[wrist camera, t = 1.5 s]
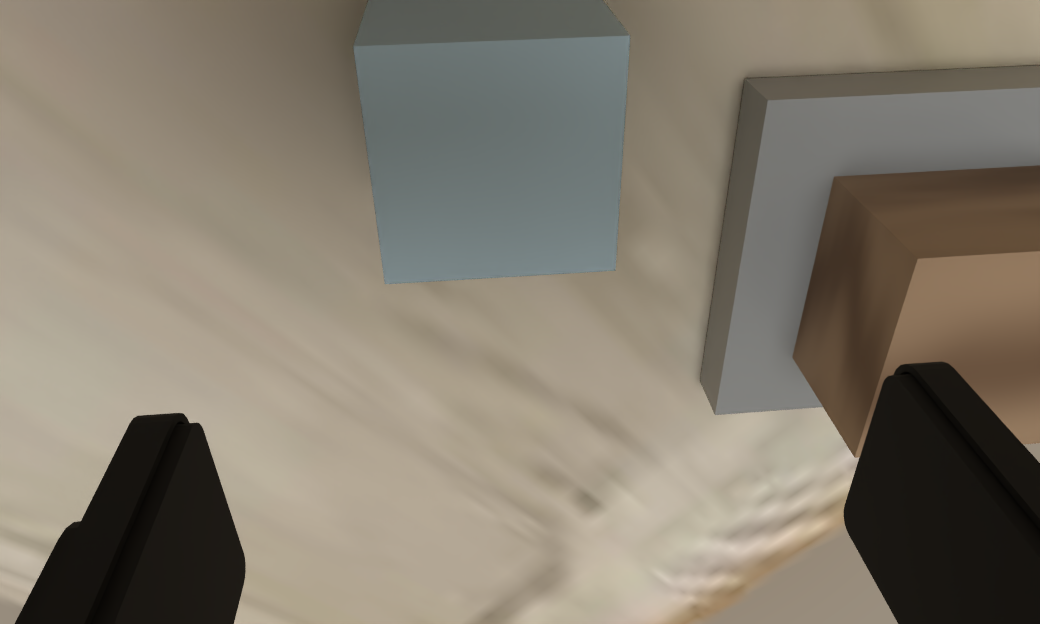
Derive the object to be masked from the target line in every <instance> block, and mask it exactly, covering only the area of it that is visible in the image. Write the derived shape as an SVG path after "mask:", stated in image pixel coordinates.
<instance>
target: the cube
mask: <svg viewBox="0 0 1040 624" xmlns="http://www.w3.org/2000/svg"><path fill="white" fill-rule="evenodd" d="M353 48H354V56H355V63H356V71H357V78H358V86H359V93H360V101H361V108H362V116H363V123H364V131H365V138H366V146H367V153H368V161H369V168H370V176H371V183H372V191H373V198H374V206H375V213H376V221H377V228H378V236H379V243H380V251H381V258H382V266H383V273H384V281H385V284H398V283H414V282H431V281H448V280H465V279H482V278H499V277H516V276H533V275H550V274H567V273H583V272H600V271H615V267H616V252H617V236H618V220H619V204H620V189H621V173H622V157H623V142H624V126H625V110H626V95H627V79H628V63H629V48H630V35H629V33H628V32H627V31H626V29H625V28H624V27H623V26H622V24H621V23H620V22H619V21H618V19H617V18H616V17H615V15H614V14H613V13H612V12H611V10H610V9H609V8H608V6H607V5H606V4H605V3H604V1H603V0H368V3H367V6H366V9H365V12H364V15H363V18H362V21H361V24H360V27H359V30H358V33H357V36H356V39H355V43H354V46H353Z"/></svg>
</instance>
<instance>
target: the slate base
mask: <svg viewBox="0 0 1040 624" xmlns="http://www.w3.org/2000/svg"><path fill="white" fill-rule="evenodd" d="M1037 165H1040V65H1033V66H1011V67H989V68H967V69H945V70H923V71H901V72H879V73H857V74H836V75H814V76H792V77H770V78H748V79H745V81H744V88H743V95H742V101H741V108H740V115H739V121H738V128H737V135H736V142H735V148H734V155H733V162H732V169H731V175H730V182H729V189H728V196H727V202H726V209H725V216H724V222H723V229H722V236H721V243H720V249H719V256H718V263H717V270H716V276H715V283H714V290H713V296H712V303H711V310H710V317H709V323H708V330H707V337H706V344H705V350H704V357H703V364H702V371H701V377H700V382H701V385H702V387H703V389H704V391H705V394H706V396H707V398H708V400H709V403H710V405H711V407H712V409H713V412H714V414H715V415H722V414H735V413H749V412H762V411H776V410H789V409H802V408H816V407H823V406H822V404H821V403H820V401H819V400H818V398H817V396H816V395H815V393H814V391H813V390H812V388H811V387H810V385H809V383H808V382H807V380H806V379H805V377H804V375H803V374H802V372H801V371H800V369H799V367H798V366H797V364H796V363H795V361H794V359H793V358H792V356H793V352H794V348H795V343H796V339H797V335H798V330H799V326H800V322H801V317H802V313H803V309H804V304H805V300H806V296H807V291H808V287H809V283H810V278H811V274H812V270H813V265H814V261H815V257H816V252H817V248H818V244H819V239H820V235H821V231H822V226H823V222H824V218H825V213H826V209H827V205H828V200H829V196H830V192H831V187H832V183H833V179H834V177H835V176H854V175H872V174H890V173H909V172H927V171H945V170H964V169H982V168H1001V167H1019V166H1037Z"/></svg>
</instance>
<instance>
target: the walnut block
mask: <svg viewBox="0 0 1040 624" xmlns="http://www.w3.org/2000/svg"><path fill="white" fill-rule="evenodd" d="M792 358H793V359H794V361H795V363H796V364H797V366H798V367H799V369H800V371H801V372H802V374H803V375H804V377H805V379H806V380H807V382H808V383H809V385H810V387H811V388H812V390H813V391H814V393H815V395H816V396H817V398H818V400H819V401H820V403H821V404H822V406H823V408H824V409H825V411H826V412H827V414H828V416H829V417H830V419H831V420H832V422H833V424H834V425H835V427H836V428H837V430H838V432H839V433H840V435H841V436H842V438H843V440H844V441H845V443H846V444H847V446H848V448H849V449H850V451H851V452H852V454H853V456H854V457H860V455H861V452H862V448H863V445H864V442H865V439H866V436H867V432H868V429H869V426H870V423H871V420H872V416H873V413H874V410H875V407H876V404H877V400H878V397H879V394H880V391H881V387H882V384H883V382H884V380H885V378H887V377H888V376H891V375H894V372H895V370H896V369H897V368H898V367H899V366H900V365H903V364H912V363H927V362H941V361H942V362H946V363H948V364H950V365H951V366H952V367H953V368H954V369H955V370H956V371H957V372H958V373H959V374H960V375H961V376H962V378H963V379H964V380H965V381H966V382H967V383H968V384H969V385H970V386H971V388H972V389H973V390H974V391H975V392H976V393H977V394H978V395H979V396H980V398H981V399H982V400H983V401H984V402H985V403H986V404H987V405H988V406H989V408H990V409H991V410H992V411H993V412H994V413H995V414H996V415H997V416H998V417H999V419H1000V420H1001V421H1002V422H1003V423H1004V424H1005V425H1006V426H1007V427H1008V429H1009V430H1010V431H1011V432H1012V433H1013V434H1014V435H1015V436H1016V437H1017V439H1018V440H1019V441H1020V442H1021V443H1022V444H1031V443H1040V165H1037V166H1019V167H1001V168H982V169H964V170H945V171H927V172H909V173H890V174H872V175H854V176H835V177H834V179H833V183H832V187H831V192H830V196H829V200H828V205H827V209H826V213H825V218H824V222H823V226H822V231H821V235H820V239H819V244H818V248H817V252H816V257H815V261H814V265H813V270H812V274H811V278H810V283H809V287H808V291H807V296H806V300H805V304H804V309H803V313H802V317H801V322H800V326H799V330H798V335H797V339H796V343H795V348H794V352H793V356H792Z"/></svg>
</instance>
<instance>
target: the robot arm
mask: <svg viewBox="0 0 1040 624" xmlns="http://www.w3.org/2000/svg"><path fill="white" fill-rule="evenodd" d="M844 521H845V526H846V529H847V531H848V534H849V536H850V537H851V539H852V541H853V543H854V544H855V546H856V548H857V550H858V552H859V553H860V555H861V557H862V559H863V561H864V563H865V564H866V566H867V568H868V570H869V571H870V573H871V575H872V577H873V579H874V581H875V582H876V584H877V586H878V588H879V590H880V591H881V593H882V595H883V597H884V598H885V600H886V602H887V604H888V606H889V608H890V609H891V611H892V613H893V615H894V617H895V618H896V620H897V622H898V624H1040V463H1039V462H1038V461H1037V460H1036V459H1035V457H1034V456H1033V455H1032V454H1031V453H1030V452H1029V451H1028V450H1027V449H1026V448H1025V446H1024V445H1023V444H1022V443H1021V442H1020V441H1019V440H1018V439H1017V437H1016V436H1015V435H1014V434H1013V433H1012V432H1011V431H1010V430H1009V429H1008V427H1007V426H1006V425H1005V424H1004V423H1003V422H1002V421H1001V420H1000V419H999V417H998V416H997V415H996V414H995V413H994V412H993V411H992V410H991V409H990V408H989V406H988V405H987V404H986V403H985V402H984V401H983V400H982V399H981V398H980V396H979V395H978V394H977V393H976V392H975V391H974V390H973V389H972V388H971V386H970V385H969V384H968V383H967V382H966V381H965V380H964V379H963V378H962V376H961V375H960V374H959V373H958V372H957V371H956V370H955V369H954V368H953V367H952V366H951V365H950V364H948V363H946V362H942V361H941V362H927V363H912V364H903V365H900V366H899V367H898V368H897V369H896V370H895V372H894V375H891V376H888V377H887V378H885V380H884V382H883V384H882V387H881V391H880V394H879V397H878V400H877V404H876V407H875V410H874V413H873V416H872V420H871V423H870V426H869V429H868V432H867V436H866V439H865V442H864V445H863V448H862V452H861V455H860V458H859V461H858V464H857V468H856V471H855V474H854V477H853V480H852V484H851V487H850V490H849V493H848V497H847V500H846V503H845V507H844ZM244 579H245V557H244V553H243V550H242V547H241V544H240V541H239V537H238V534H237V531H236V528H235V525H234V522H233V519H232V516H231V513H230V510H229V507H228V504H227V501H226V498H225V495H224V492H223V489H222V485H221V482H220V479H219V476H218V473H217V470H216V467H215V464H214V461H213V458H212V455H211V452H210V449H209V446H208V443H207V440H206V437H205V433H204V431H203V428H202V426H201V425H200V424H199V423H189V421H188V419H187V417H186V416H185V415H184V414H182V413H172V414H157V415H143V416H137V417H135V418H133V420H132V421H131V423H130V424H129V426H128V428H127V430H126V432H125V434H124V436H123V438H122V440H121V442H120V444H119V446H118V448H117V450H116V452H115V454H114V456H113V458H112V460H111V462H110V464H109V466H108V468H107V470H106V472H105V474H104V476H103V478H102V480H101V482H100V484H99V486H98V488H97V490H96V492H95V494H94V496H93V498H92V500H91V502H90V504H89V506H88V508H87V510H86V512H85V514H84V516H83V518H82V520H81V521H80V522H74V523H72V524H71V525H70V526H68V527H67V528H66V529H65V530H64V532H63V533H62V535H61V536H60V538H59V539H58V541H57V543H56V545H55V547H54V549H53V551H52V553H51V555H50V557H49V558H48V560H47V562H46V564H45V566H44V568H43V570H42V572H41V574H40V576H39V578H38V580H37V582H36V584H35V586H34V587H33V589H32V591H31V593H30V595H29V597H28V599H27V601H26V603H25V605H24V607H23V609H22V611H21V613H20V615H19V617H18V618H17V620H16V622H15V624H234V620H235V616H236V612H237V608H238V604H239V600H240V596H241V592H242V588H243V585H244Z"/></svg>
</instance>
